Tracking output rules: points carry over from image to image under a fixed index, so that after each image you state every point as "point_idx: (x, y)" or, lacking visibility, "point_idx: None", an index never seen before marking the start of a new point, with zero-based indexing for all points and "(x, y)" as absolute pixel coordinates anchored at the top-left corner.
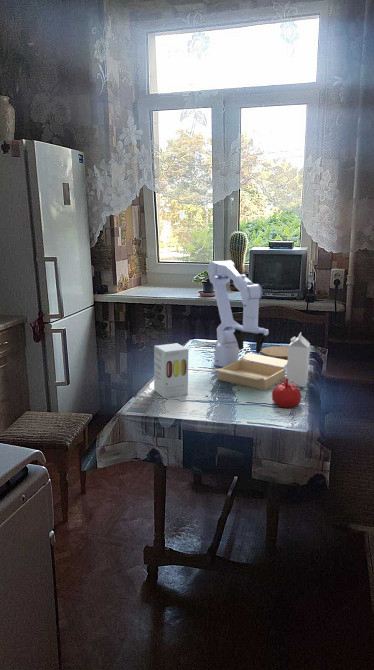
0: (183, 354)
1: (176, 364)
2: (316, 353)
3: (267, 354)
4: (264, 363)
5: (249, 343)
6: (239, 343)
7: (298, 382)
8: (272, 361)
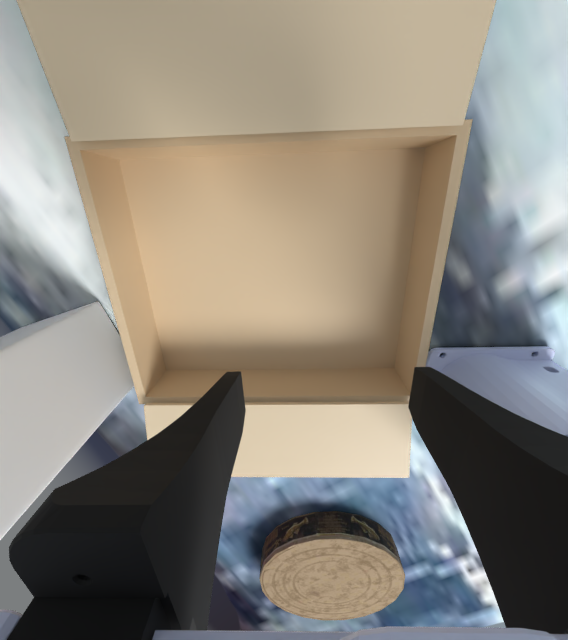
0: None
1: None
2: (246, 619)
3: (353, 539)
4: (258, 404)
5: (490, 613)
6: (455, 398)
7: (34, 324)
8: None
